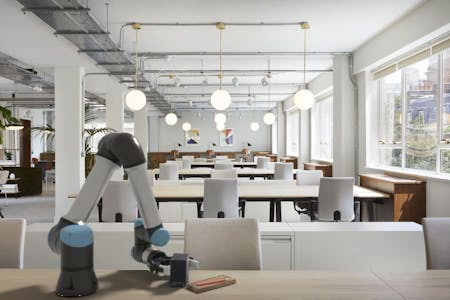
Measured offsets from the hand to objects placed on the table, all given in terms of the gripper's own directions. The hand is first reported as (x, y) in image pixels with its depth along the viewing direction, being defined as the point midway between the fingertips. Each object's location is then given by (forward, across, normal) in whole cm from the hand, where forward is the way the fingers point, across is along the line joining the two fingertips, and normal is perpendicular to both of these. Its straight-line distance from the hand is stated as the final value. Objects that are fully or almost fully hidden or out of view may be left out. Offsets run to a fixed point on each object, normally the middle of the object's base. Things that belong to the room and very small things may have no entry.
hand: (184, 268), depth 170 cm
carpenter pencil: (+10, -6, -4) cm, 12 cm away
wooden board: (+8, -7, -6) cm, 12 cm away
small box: (-3, 0, -6) cm, 7 cm away
